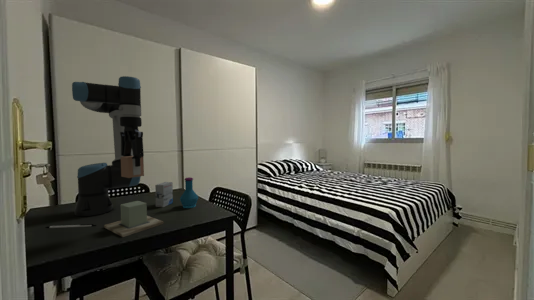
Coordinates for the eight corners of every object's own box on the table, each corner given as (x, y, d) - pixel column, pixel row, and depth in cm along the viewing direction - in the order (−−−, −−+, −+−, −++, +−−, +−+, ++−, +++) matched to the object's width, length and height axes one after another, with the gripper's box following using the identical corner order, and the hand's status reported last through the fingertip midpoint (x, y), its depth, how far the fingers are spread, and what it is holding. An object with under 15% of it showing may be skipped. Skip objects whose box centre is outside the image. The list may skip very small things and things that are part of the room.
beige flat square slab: (104, 227, 95) (103, 224, 95) (143, 216, 108) (143, 214, 108) (122, 237, 86) (122, 234, 86) (163, 223, 99) (163, 221, 99)
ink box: (165, 202, 131) (164, 181, 130) (173, 202, 130) (173, 181, 129) (155, 206, 123) (154, 184, 122) (163, 207, 122) (163, 185, 121)
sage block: (121, 223, 96) (120, 204, 96) (138, 218, 102) (138, 200, 101) (129, 227, 92) (128, 207, 92) (147, 222, 98) (146, 203, 97)
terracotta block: (121, 176, 95) (120, 156, 94) (136, 174, 100) (135, 155, 99) (128, 177, 92) (127, 157, 91) (143, 175, 96) (143, 156, 96)
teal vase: (191, 202, 130) (190, 175, 129) (202, 205, 125) (201, 177, 124) (176, 206, 123) (175, 178, 122) (187, 210, 117) (186, 180, 117)
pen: (95, 227, 96) (95, 224, 96) (44, 229, 94) (44, 226, 94) (97, 226, 97) (96, 223, 97) (46, 228, 95) (46, 225, 95)
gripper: (109, 117, 97) (112, 173, 98) (132, 114, 86) (134, 177, 87) (129, 118, 103) (130, 170, 104) (152, 116, 92) (154, 174, 93)
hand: (132, 173), depth 96 cm, fingers closed on terracotta block, 6 cm apart
